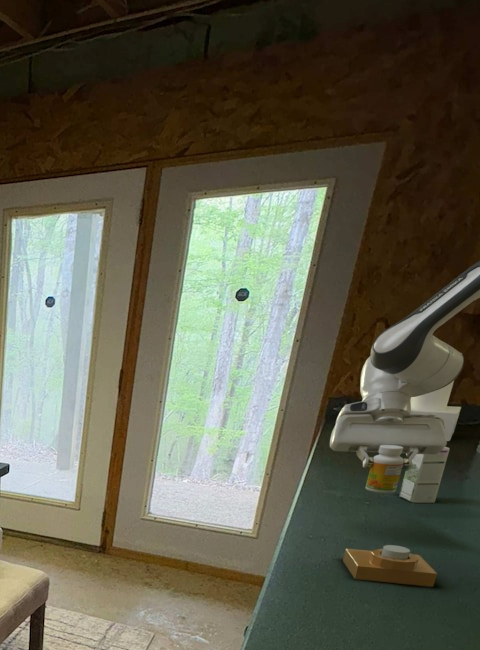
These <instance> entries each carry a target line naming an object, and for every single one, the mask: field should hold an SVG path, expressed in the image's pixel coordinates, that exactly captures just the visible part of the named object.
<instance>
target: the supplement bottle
mask: <svg viewBox="0 0 480 650" xmlns="http://www.w3.org/2000/svg"><path fill="white" fill-rule="evenodd" d="M402 450H403V447H401V446H396V445H381V446H380V447H379V453H378V454H376V455H374V456H373V457H374V460H373V461H374V464H373V466H372V467H371V468H369V471H368V474H367V475H368V476H367V480H366V484H365V487H364V488H365V490H367V491H369V492H373V493H378V494H392V493H395V492H396V491H397V488H398V485H399V481H400V477H401V474H402V473H401V472H402V470H403V469H402V466H403V462H404V460H403V459H404V458H403V457H402V456H401V455H402V454H403V453H402Z"/></svg>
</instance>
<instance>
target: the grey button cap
mask: <svg viewBox="0 0 480 650" xmlns="http://www.w3.org/2000/svg"><path fill="white" fill-rule="evenodd" d="M381 549H382V553H381V555H382V556H384V557H387V558H392V559H399V560H406V559H408V557H409V553H410V554H411V550H410V549H409V548H407V547H405V546H400V545H393V544H386V545H383V546H382V548H381Z"/></svg>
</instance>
